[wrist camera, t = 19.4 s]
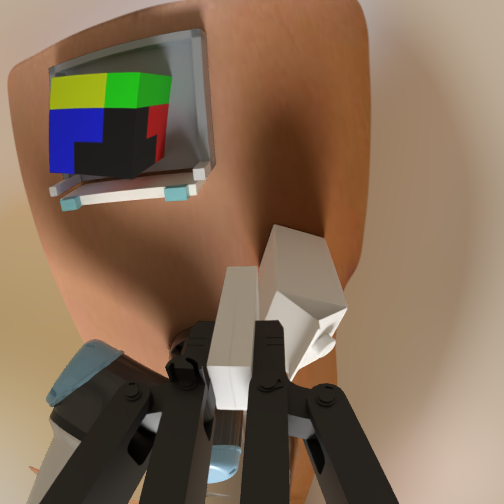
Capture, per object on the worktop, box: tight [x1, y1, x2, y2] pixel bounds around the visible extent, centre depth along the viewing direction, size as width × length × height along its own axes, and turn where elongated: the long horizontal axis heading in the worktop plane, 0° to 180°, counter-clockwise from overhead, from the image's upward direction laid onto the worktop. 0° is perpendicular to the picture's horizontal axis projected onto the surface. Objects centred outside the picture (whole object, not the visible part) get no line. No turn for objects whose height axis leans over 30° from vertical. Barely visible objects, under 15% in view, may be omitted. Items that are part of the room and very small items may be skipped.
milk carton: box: [258, 224, 348, 381], centre depth 35 cm, size 7×7×19 cm
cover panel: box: [60, 172, 207, 211], centre depth 36 cm, size 1×18×7 cm, turn 93°
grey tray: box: [49, 28, 216, 197], centre depth 31 cm, size 16×20×7 cm
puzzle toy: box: [49, 72, 172, 179], centre depth 29 cm, size 10×10×10 cm
